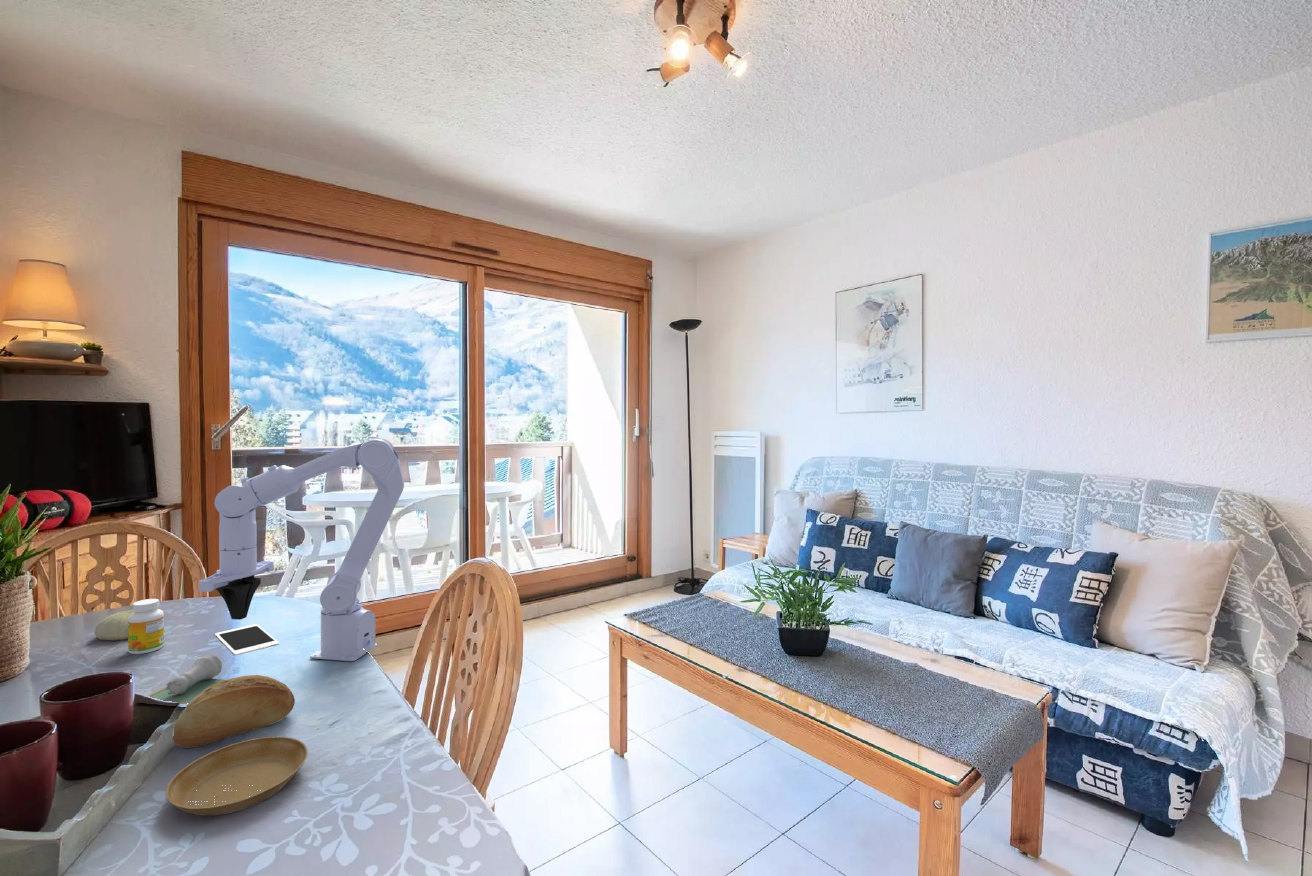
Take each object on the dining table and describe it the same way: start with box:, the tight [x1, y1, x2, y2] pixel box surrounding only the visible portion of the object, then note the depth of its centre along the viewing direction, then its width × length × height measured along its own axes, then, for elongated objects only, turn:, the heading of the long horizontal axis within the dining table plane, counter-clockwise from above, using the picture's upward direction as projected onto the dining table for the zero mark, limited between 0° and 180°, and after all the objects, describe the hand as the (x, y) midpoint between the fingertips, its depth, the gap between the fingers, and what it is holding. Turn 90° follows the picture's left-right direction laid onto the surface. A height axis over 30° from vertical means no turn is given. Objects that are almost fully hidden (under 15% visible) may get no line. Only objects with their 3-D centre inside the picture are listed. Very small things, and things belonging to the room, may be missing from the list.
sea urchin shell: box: [94, 609, 134, 641], centre depth 121 cm, size 9×8×8 cm
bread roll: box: [172, 674, 296, 749], centre depth 85 cm, size 10×15×8 cm, turn 133°
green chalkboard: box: [146, 678, 225, 704], centre depth 97 cm, size 12×9×1 cm
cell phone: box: [214, 623, 280, 656], centre depth 120 cm, size 8×16×1 cm, turn 50°
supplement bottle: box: [127, 598, 165, 655], centre depth 114 cm, size 5×5×10 cm
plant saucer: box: [164, 736, 309, 816], centre depth 73 cm, size 15×15×3 cm
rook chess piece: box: [164, 653, 223, 696], centre depth 98 cm, size 4×4×8 cm
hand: (239, 618), depth 108 cm, fingers closed
